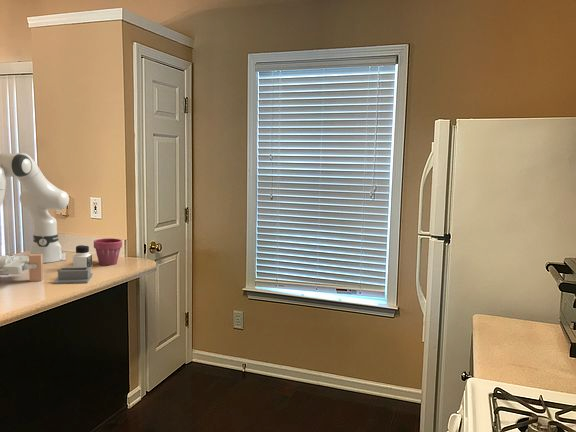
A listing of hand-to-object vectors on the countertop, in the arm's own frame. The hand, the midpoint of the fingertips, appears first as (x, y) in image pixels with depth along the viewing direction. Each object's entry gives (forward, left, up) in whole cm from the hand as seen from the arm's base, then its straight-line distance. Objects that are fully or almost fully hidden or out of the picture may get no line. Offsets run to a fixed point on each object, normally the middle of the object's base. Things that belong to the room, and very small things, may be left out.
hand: (38, 264), depth 210 cm
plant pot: (-31, +26, -8) cm, 41 cm away
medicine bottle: (-21, +15, -8) cm, 27 cm away
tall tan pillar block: (0, -1, -7) cm, 7 cm away
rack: (0, +15, -7) cm, 17 cm away
